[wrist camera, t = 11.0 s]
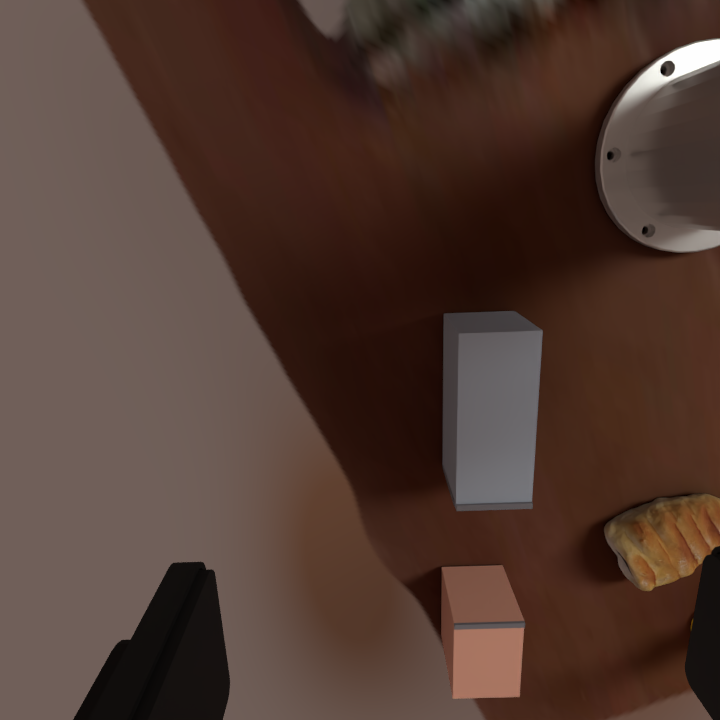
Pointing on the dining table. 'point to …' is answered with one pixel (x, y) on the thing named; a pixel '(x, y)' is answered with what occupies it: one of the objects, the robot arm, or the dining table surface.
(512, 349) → the block
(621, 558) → the pastry
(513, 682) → the stub
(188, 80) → the dining table surface
